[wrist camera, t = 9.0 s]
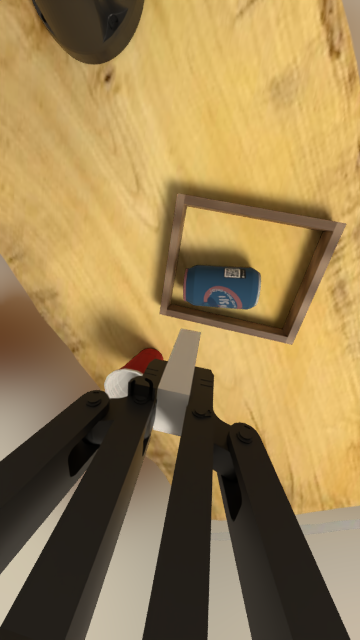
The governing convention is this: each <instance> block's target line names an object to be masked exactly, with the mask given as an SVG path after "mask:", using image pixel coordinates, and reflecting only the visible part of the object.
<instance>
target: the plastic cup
mask: <svg viewBox="0 0 360 640" xmlns="http://www.w3.org/2000/svg"><path fill="white" fill-rule="evenodd" d="M154 359H159V360H163V357H162V354H161V353H160V352H159V351H157V350H155V349H151V348H148V349H144V350H143V351H141V352H140V353H139V354H138V355H136V356H135V357H134V358H133V359H132V360H130V361H129V362H128V363H127V364H126V365H125V366H123V367H122V368H120V369H119V370H115V371H113V372H112V373H111V374H109V375H108V376H107V378H106V381H105V383H104V386H105V393H107V394H108V396H109V398H123V397H126V396H128V382H129V381H130V379H132V378H134V377H136V376H142V375H143V374H144V372H145V370H146V368H147V366H148V364H149V362H151V361H152V360H154Z"/></svg>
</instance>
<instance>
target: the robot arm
mask: <svg viewBox="0 0 360 640" xmlns="http://www.w3.org/2000/svg"><path fill="white" fill-rule="evenodd" d="M32 1H33V4H34V6H35V8H36V10H37V12H38V15H39V17H40V18H41V20H42V22H43V24H44V25H45V27H46V28H47V30H48V31H49V32H50V34H51V35H52V36H53V37H54V39H55V40H56V41H57V42H58V43H59V44H60V46H61V47H62V48H63V49H64V50H65V51H66V52H67V53H68V54H69V55H71V56H72V57H73V58H75V59H77V60H79V61H81V62H84V63H87V64H101V63H105V62H107V61H109V60H111V59H113V58H115V57H116V56H117V55H118V54H120V53H121V52H122V51H123V50H124V48H125V47H126V46H127V45H128V43H129V42H130V40H131V38H132V37H133V35H134V33H135V31H136V28H137V26H138V23H139V21H140V17H141V14H142V10H143V5H144V0H32ZM200 335H201V332H196V331H191V330H186V329H181V330H180V332H179V335H178V337H177V340H176V342H175V345H174V348H173V350H172V353H171V355H170V358H169V360H168V361H164V360H159V359H154V360H152V361H151V362H149V364H148V366H147V368H146V370H145V372H144V374H143V375H142V376H136V377H134V378H132V379H130V381H129V382H128V396H126V397H123V398H109V396H108V394H107V393H105V392H104V391H100V390H94V391H90V392H87V393H86V394H84V395H82V396H81V397H80V398H79V399H77V400H76V401H75V402H74V403H72V404H71V405H70V406H69V407H67V408H66V409H65V410H64V411H62V412H61V413H60V414H59V415H58V416H56V417H55V418H54V419H52V420H51V421H50V422H49V423H48V424H46V425H45V426H44V427H43V428H41V429H40V430H39V431H38V432H36V433H35V434H34V435H33V436H31V437H30V438H29V439H28V440H27V441H25V442H24V443H23V444H21V445H20V446H19V447H18V448H17V449H15V450H14V451H13V452H11V453H10V454H9V455H8V456H7V457H5V458H4V459H3V460H2V461H0V574H1V573H2V571H3V570H4V569H5V568H6V567H7V565H8V564H9V563H10V562H11V561H12V559H13V558H14V557H15V556H16V555H17V553H18V552H19V551H20V550H21V549H22V547H23V546H24V545H25V544H26V542H27V541H28V540H29V539H30V538H31V536H32V535H33V534H34V533H35V532H36V530H37V529H38V528H39V527H40V525H41V524H42V523H43V522H44V521H45V519H46V518H47V517H48V516H49V515H50V513H51V512H52V511H53V510H54V508H55V507H56V506H57V505H58V504H59V502H60V501H61V500H62V499H63V498H64V496H65V495H66V494H67V493H68V491H69V490H70V489H71V488H72V487H73V486H74V484H75V483H76V482H77V481H78V479H79V478H80V477H81V476H82V475H83V473H84V472H85V471H86V472H85V474H84V476H83V478H82V479H81V482H80V483H79V485H78V487H77V489H76V490H75V492H74V494H73V496H72V498H71V499H70V501H69V503H68V505H67V507H66V509H65V510H64V512H63V514H62V516H61V518H60V520H59V521H58V523H57V525H56V527H55V529H54V530H53V532H52V534H51V536H50V538H49V540H48V541H47V543H46V545H45V547H44V549H43V550H42V553H41V554H40V556H39V558H38V560H37V561H36V563H35V565H34V567H33V569H32V570H31V572H30V574H29V576H28V578H27V580H26V581H25V583H24V585H23V587H22V589H21V591H20V592H19V594H18V596H17V598H16V600H15V601H14V603H13V605H12V607H11V609H10V610H9V612H8V614H7V616H6V618H5V620H4V621H3V623H2V625H1V627H0V640H85V637H86V634H87V631H88V628H89V625H90V622H91V619H92V616H93V613H94V610H95V607H96V604H97V601H98V598H99V594H100V592H101V589H102V585H103V582H104V579H105V576H106V573H107V570H108V567H109V564H110V561H111V558H112V555H113V552H114V549H115V545H116V543H117V540H118V536H119V533H120V530H121V527H122V524H123V521H124V518H125V515H126V512H127V509H128V506H129V503H130V500H131V497H132V494H133V490H134V487H135V484H136V481H137V478H138V475H139V472H140V469H141V466H142V463H143V460H144V457H145V454H146V451H147V448H148V445H149V442H150V436H151V431H152V428H153V430H157V431H161V432H165V433H169V434H173V435H177V436H181V438H180V443H179V449H178V454H177V459H176V464H175V470H174V475H173V480H172V486H171V491H170V496H169V501H168V507H167V512H166V517H165V522H164V528H163V533H162V538H161V544H160V549H159V554H158V559H157V565H156V570H155V575H154V580H153V586H152V591H151V596H150V602H149V607H148V612H147V617H146V623H145V628H144V633H143V638H142V640H207V637H208V604H209V571H210V539H211V506H212V474H213V470H215V471H216V472H217V476H218V480H219V485H220V490H221V494H222V499H223V504H224V509H225V513H226V518H227V522H228V527H229V532H230V537H231V542H232V547H233V551H234V556H235V561H236V566H237V570H238V575H239V580H240V584H241V589H242V594H243V598H244V604H245V608H246V613H247V618H248V622H249V627H250V632H251V637H252V640H350V638H349V635H348V633H347V631H346V628H345V626H344V624H343V622H342V620H341V617H340V615H339V613H338V611H337V608H336V606H335V604H334V602H333V599H332V597H331V595H330V593H329V591H328V588H327V586H326V584H325V581H324V579H323V577H322V575H321V573H320V570H319V568H318V566H317V564H316V561H315V559H314V557H313V555H312V552H311V550H310V548H309V546H308V543H307V541H306V539H305V537H304V534H303V532H302V530H301V528H300V525H299V523H298V521H297V519H296V516H295V514H294V512H293V510H292V507H291V505H290V503H289V501H288V499H287V496H286V494H285V492H284V490H283V487H282V485H281V483H280V481H279V478H278V476H277V474H276V472H275V469H274V467H273V465H272V463H271V460H270V458H269V456H268V454H267V451H266V449H265V447H264V445H263V443H262V440H261V438H260V436H259V434H258V433H257V431H256V430H255V429H254V428H252V427H251V426H249V425H247V424H245V423H240V422H239V423H234V424H233V425H229V424H227V423H225V422H223V421H222V420H220V419H219V418H218V417H217V416H216V414H215V413H214V411H213V386H214V375H213V373H212V371H211V370H209V369H204V368H200V367H195V363H196V357H197V351H198V346H199V340H200Z"/></svg>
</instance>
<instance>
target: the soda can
mask: <svg viewBox="0 0 360 640" xmlns="http://www.w3.org/2000/svg"><path fill="white" fill-rule="evenodd" d="M260 288H261V275H260V273H259V272H258V271H256V270H255V269H253V268H248V267H227V266H206V265H196V266H194V267H192V268H186V271H185V276H184V286H183V298H184V301H187V302H189V303H191V304H192V305H196V306H208V307H221V308H234V309H250V308H252V307H254V306H256V305H257V303H258V299H259V295H260Z"/></svg>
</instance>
